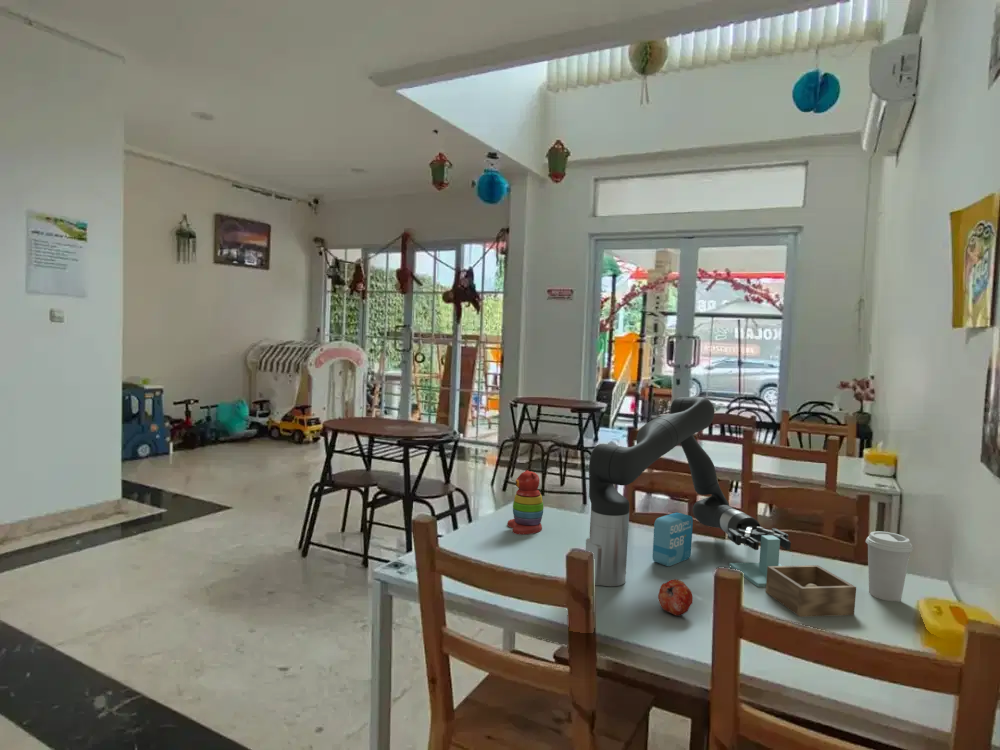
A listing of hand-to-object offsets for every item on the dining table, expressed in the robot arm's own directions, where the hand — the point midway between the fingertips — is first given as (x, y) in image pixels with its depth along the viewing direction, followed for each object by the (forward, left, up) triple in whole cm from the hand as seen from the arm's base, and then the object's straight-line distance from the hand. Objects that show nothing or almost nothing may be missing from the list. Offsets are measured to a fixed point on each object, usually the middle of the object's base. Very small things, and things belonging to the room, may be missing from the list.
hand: (773, 546), depth 159 cm
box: (-3, -15, -9) cm, 17 cm away
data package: (-17, +18, -9) cm, 26 cm away
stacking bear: (-46, +52, -9) cm, 70 cm away
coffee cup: (+19, -16, -9) cm, 26 cm away
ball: (-1, -13, -8) cm, 16 cm away
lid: (0, +1, -9) cm, 9 cm away
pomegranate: (-35, -10, -9) cm, 37 cm away
